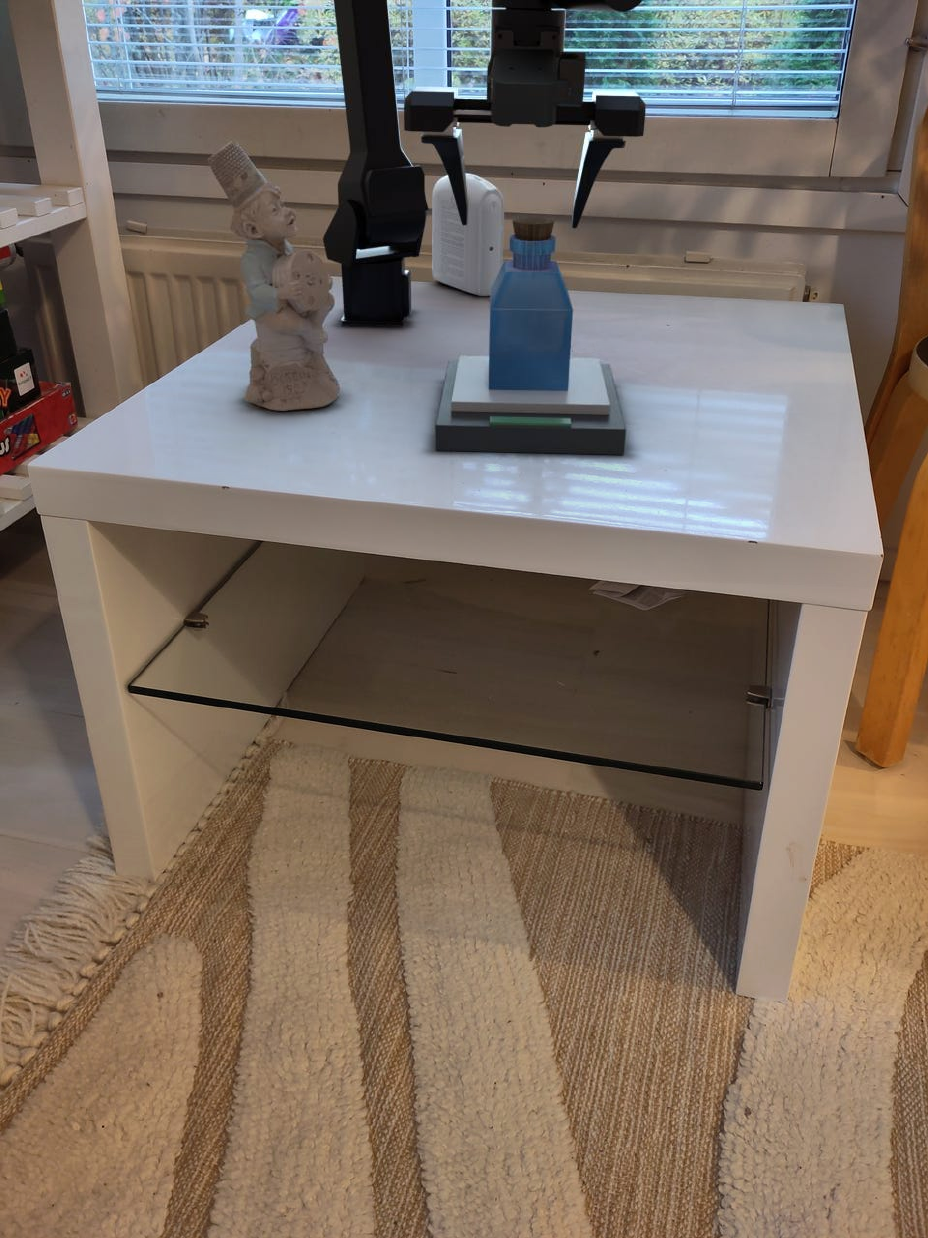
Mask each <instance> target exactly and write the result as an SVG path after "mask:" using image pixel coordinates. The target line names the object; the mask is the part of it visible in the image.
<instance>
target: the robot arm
mask: <svg viewBox="0 0 928 1238" xmlns="http://www.w3.org/2000/svg"><path fill="white" fill-rule="evenodd" d="M643 1H644V0H490V28H489V29H490V32H489V62H488V65H487V68H486V97H459V87H450V86H449V87H448V86H447V87H445V86H444V87H443V86H416V87H414V88H413V89H412V90H411V91H410V92H409V93H408V94H407V95H406V97H404V102H403V123H404V124H403V130H404V131H406V132H413V133H414V132H418V133H419V132H421V133H422V134H421V135H420V143H421V144H426V145H432V146H433V147H434V148H435V150H436V152H437V154H438V156H439V158H440V161H441V163H442V165H443V168H444V169H445V172H446V176H447V175H448V178H449V181H450V184H451V188H452V191H453V195H454V198H455V202H456V205H457V209H458V212H459V216H460V219H461V223H462V225H467V221H468V197H467V186H466V174H465V173H466V165H465V154H464V153H465V152H464V142H463V130H462V128H459V129H458V127H459V125H460V123H462V124H463V123H464V124H466V123H468V124H494V125H495V126H498V127H504V128H505V127H507V128H509V127H511V126H513V125H532V126H533V125H534V126H535V127H536V128H550V127H552V126H588V129H589V131H590V132H589V131H587V132H585V133H584V134H585V135H584V141H583V146H582V152H581V157H580V162H579V167H578V168H579V170H578V173H577V180H576V186H575V192H574V197H573V203H572V211H571V212H572V215H571V228H572V229H577V228H578V226H579V223H580V221H581V218H582V216H583V213H584V210H585V208H586V205H587V202H588V200H589V198H590V195H591V191H592V189H593V187H594V184H595V181H596V179H597V177H598V175H599V173H600V171H601V170H602V167H603V165H604V163H605V162H606V160H607V159H608V157H609V155H610V153H611V152H612V151H613V150H615V149H624V148H625V147H626V143H627V141H626V139H625V138H624V137H626V138H627V137H630V138H631V137H632V138H633V137H634V138H637V137H638V138H639V137H644V133H645V123H646V105H647V104H646V102H645V101H644V100H643V99H642V97H641V96H640V95H639V94H638V93H637V92H636V91H634V90H633V91H630V90H629V91H628V90H627V91H625V90H592V94H591V100H588V99H585V100H584V92H585V79H586V64H587V63H586V62H587V59H586V58H587V57H586V52H585V51H565V35H566V18H567V17H566V16H567V11H576V12H579V11H581V12H608V13H610V12H611V13H627V12H631V11H632V10H634V9H635V8H637V7H638V6H639V5H640V4H641V3H642V2H643ZM388 2H389V1H388V0H333V7H334V15H335V24H336V34H337V42H338V43H337V44H338V53H339V60H340V70H341V79H342V87H343V97H344V106H345V114H346V115H345V116H346V124H347V125H346V126H347V133H348V143H349V154H348V157H347V160H346V162H345V164H344V167H343V169H342V172H341V174H340V176H339V178H338V182H337V201H338V203H337V205H338V207H337V209H336V211H335V213H334V215H333V217H332V219H331V221H330V222H329V225H328V227H327V229H326V231H325V233H324V235H323V237H322V242H323V247H324V252H325V255H326V259H327V260H328V261H332V262H334V263H338V264H340V265H341V266H340V267H341V285H342V299H343V300H342V301H343V302H342V304H343V315H342V317H341V319H340V322H341V323H340V325H343V326H382V327H383V326H386V327H391V326H392V327H400V326H404V324H405V322H406V319H407V317H409V316H410V315H411V312H412V274H411V271H410V270H407V269H406V258H419V257H420V252H421V248H422V243H423V238H424V232H425V227H426V223H427V211H429V206H428V205H429V204H428V202H427V197H426V188H425V187H426V185H425V183H426V176H425V175H426V174H425V172H424V170H423V167H422V166H421V165H413V164H412V163H411V161H410V160H409V158H408V156H407V155H406V153H405V152H404V150H403V148H402V142H401V133H400V131H401V130H400V124H399V123H400V121H399V111H398V109H399V108H398V100H397V99H398V98H397V87H396V78H395V77H396V75H395V67H394V55H393V44H392V34H391V21H390V13H389V11H390V10H389V3H388Z"/></svg>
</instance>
